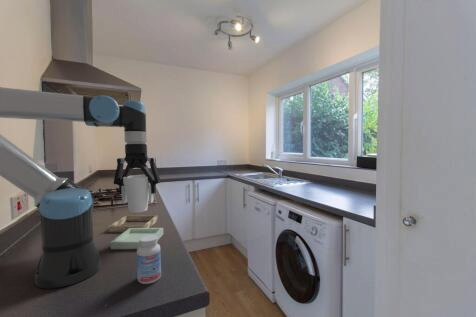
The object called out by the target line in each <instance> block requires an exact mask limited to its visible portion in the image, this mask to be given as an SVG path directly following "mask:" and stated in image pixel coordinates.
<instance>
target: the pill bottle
mask: <svg viewBox="0 0 476 317" xmlns="http://www.w3.org/2000/svg"><path fill="white" fill-rule="evenodd" d="M158 241H159V239H158V237H157V236H156V235H146V236H143V237H141V238H140V239H139V244H140V247H139V248H138V249H136V270H137V271H136V274H137V275H136V278H137V279H136V280H137V281H138V282H139V283H140V284H142V285H149V284H153V283H156V282H157V281H159V280H160V279H161V277H162V262H161V261H162V258H161V257H162V253H161V252H162V251H161V245H160V244H159V243H158Z"/></svg>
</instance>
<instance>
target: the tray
mask: <svg viewBox="0 0 476 317" xmlns="http://www.w3.org/2000/svg"><path fill="white" fill-rule="evenodd" d="M146 235H156V236H157V237H158V240H160V238H162V236H163V235H164V227H150V228H129V229H128V230H126V231H125V232H121V234H120V235H119V236H117V237H116V238H114V239H113V240H111V241H110V245H109V246H110V250H137V249H138V248H139V247H140V244H139V239H140V238H141V237H143V236H146Z"/></svg>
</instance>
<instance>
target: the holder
mask: <svg viewBox="0 0 476 317" xmlns="http://www.w3.org/2000/svg"><path fill="white" fill-rule="evenodd" d="M158 221H159V215H158V214H156V215H155V214H153V215H152V214H150V215H149V214H148V215H147V214H146V215H145V214H144V215H142V214H139V215H138V214H136V215H134V214H132V215H125V216H123V217H121V218H120V219H118V220H117V221H115V222H112V224H110V225H108V226H107V232H108V233H124V232H125V231H126V230H128V229H129V228H152V226H153V225H154V224H155V223H156V222H158ZM127 222H146V223H145V224H143V225H123V224H125V223H127Z"/></svg>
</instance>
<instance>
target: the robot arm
mask: <svg viewBox="0 0 476 317" xmlns="http://www.w3.org/2000/svg"><path fill="white" fill-rule="evenodd" d="M122 104H123V105H121V106H120V105H119V104H118V102H117V101H116V100H115V99H114V98H113V97H111V96H109V95H103V94H102V95H101V94H99V95H97V96H88V95H80V94H72V93H71V94H68V93H61V92H60V93H59V92H50V91H40V90H38V91H37V90H30V89H20V88H10V87H0V119H17V120H18V119H19V120H37V121H38V120H40V121H60V122H79V123H85V125H86V126H88V127H97V128H98V127H103V128H104V127H105V128H106V127H107V128H108V127H109V128H112V127H113V128H124V129H123V130H124V143H126V144H124V152H125V153H124V154H125V155H124V156H125V157H122V158H121V157H120V158H119V157H118V158H116V162H117V163H116V164H117V165H116V170H115V174H114V179H113V185H118V188H119V190H118V191H119V195H121V204H126V203H128V202H127V197H126V192H125V186H124V184H123V177H126V178H127V177H128V176H130V174H131V172H132V170H133V169H140V170H141V171H142V172H143V175H145V176H146V177H148V181H149V183H150V185H149V186H148V187H149V199H148V204H152V203H154V201H155V200H154V197H155V195H154V194H156V192H157V187H156V185H157V184H160V183H161V182H162V181H161V178H160V175H159V174H160V173H159V171H158V168H157V167H158V166H157V164H156V162H157V160H156V159H157V158H156V157H149V156H148V146H147V140H148V139H147V113H146V105H145V103H144V102H142V101H141V100H140V101H138V100H125V101H123V103H122ZM147 162H148V163H149V165H150V169H151V171H150V169H149V167H148V165H147ZM124 164H127V165H126V167H125V169H124V166H125V165H124ZM123 171H124V172H123ZM151 172H152V173H151ZM0 177H1V178H2V179H5V180H6V181H8V182H9V183H10V184H12V185H13V186H15V187H16V188H18V189H20V190H21V191H23V192H24V193H25V194H27V195H28V196H30V197H31V198H33V200H34V207H36V209H37V208H38V212H39V216H40V218H39V219H40V233H41V234H40V235H41V249H42V250H41V255H40V259H39V262H38V265H37V267H36V271H35V274H34V284H35V286H36V287H37V288H40V289H47V290H49V289H59V288H63V287H67V286H72V285H74V284H77V283H80V282H82V281H85V280H86V279H88V278H90V277H92V276H93V275H94V274H95V275H96V274H97V272H98V271H99V270H101V267H102V258H101V255H100V253H99V251H98V249H97V246H96V244H95V242H94V228H93V226H94V225H93V209H94V207H95V206H94V205H95V200H94V197H93V195H92V193H91V192H90V191H89V190H88V189H86V188H85V187H82V186H80V185H78V184H77V183H75V182H74V181H73V180H72V179H70V178H68V177H59V176H58V175H56V174H55V173H53V172H52V171H50V170H49V169H48V168H47V167H45V166H44V165H43V164H41V163H40V162H38V161H37V160H36V159H34V158H33V157H32V156H31V155H29V154H28V153H26V152H25V151H24V150H23V149H21V148H19V147H18V146H17V145H16V144H14V143H13V142H12V141H10V140H9V139H8V138H7V137H5V136H3V135H2V134H1V133H0Z"/></svg>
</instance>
